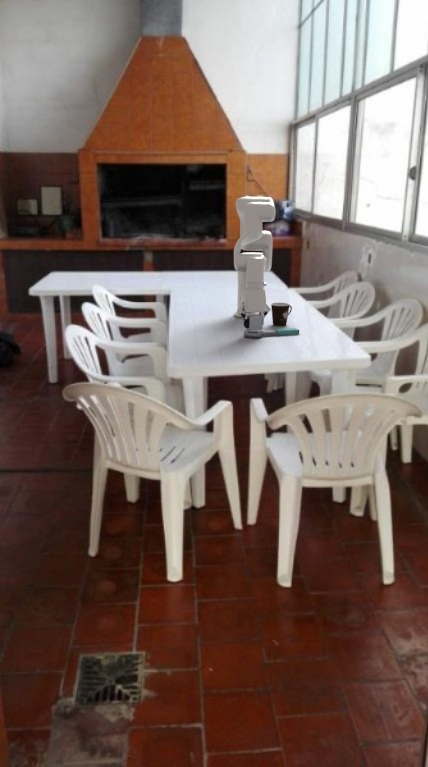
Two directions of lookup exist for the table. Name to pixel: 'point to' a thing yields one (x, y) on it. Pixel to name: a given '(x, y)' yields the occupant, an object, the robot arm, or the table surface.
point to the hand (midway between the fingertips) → (253, 326)
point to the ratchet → (270, 333)
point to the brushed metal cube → (255, 322)
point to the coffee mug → (280, 313)
